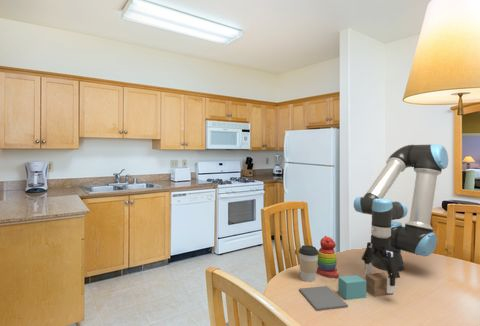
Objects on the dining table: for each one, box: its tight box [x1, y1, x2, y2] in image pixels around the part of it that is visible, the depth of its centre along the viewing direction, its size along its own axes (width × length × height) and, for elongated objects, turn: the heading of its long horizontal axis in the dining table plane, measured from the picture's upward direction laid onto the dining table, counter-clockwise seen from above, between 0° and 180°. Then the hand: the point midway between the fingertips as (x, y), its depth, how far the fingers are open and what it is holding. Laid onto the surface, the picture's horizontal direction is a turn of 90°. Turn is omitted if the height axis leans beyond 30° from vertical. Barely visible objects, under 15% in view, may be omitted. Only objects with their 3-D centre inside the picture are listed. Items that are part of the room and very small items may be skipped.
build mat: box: [298, 285, 349, 312], centre depth 117 cm, size 13×16×1 cm
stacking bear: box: [316, 235, 340, 279], centre depth 141 cm, size 11×10×18 cm
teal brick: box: [337, 274, 367, 301], centre depth 120 cm, size 9×6×7 cm, turn 102°
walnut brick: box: [364, 272, 394, 298], centre depth 122 cm, size 9×6×7 cm, turn 102°
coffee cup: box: [298, 245, 319, 283], centre depth 135 cm, size 9×9×15 cm
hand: (378, 285), depth 122 cm, fingers open, 13 cm apart
